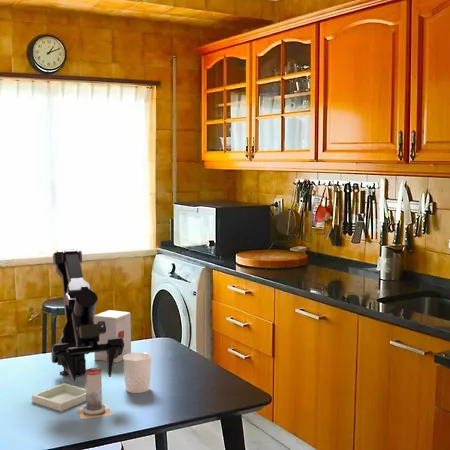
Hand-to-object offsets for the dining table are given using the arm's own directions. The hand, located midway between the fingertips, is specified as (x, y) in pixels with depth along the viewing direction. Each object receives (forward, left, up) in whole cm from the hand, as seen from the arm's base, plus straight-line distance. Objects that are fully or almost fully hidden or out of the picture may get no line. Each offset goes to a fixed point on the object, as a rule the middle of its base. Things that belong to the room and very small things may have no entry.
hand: (92, 378), depth 171 cm
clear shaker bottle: (+1, -1, -8) cm, 9 cm away
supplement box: (-28, +36, -9) cm, 47 cm away
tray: (-12, 0, -9) cm, 15 cm away
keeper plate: (+1, -1, -9) cm, 9 cm away
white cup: (-1, +18, -9) cm, 20 cm away
